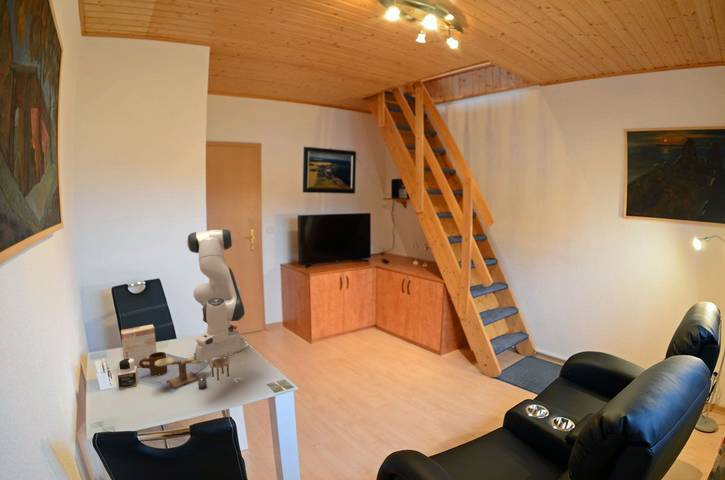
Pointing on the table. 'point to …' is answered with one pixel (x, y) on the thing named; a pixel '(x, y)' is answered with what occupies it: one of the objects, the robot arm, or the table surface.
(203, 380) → the grey domed cylinder
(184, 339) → the table surface
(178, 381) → the balance
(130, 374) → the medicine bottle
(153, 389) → the table surface
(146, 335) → the coffeecake box
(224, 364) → the tan peg block
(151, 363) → the mug
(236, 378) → the beige angular frame
